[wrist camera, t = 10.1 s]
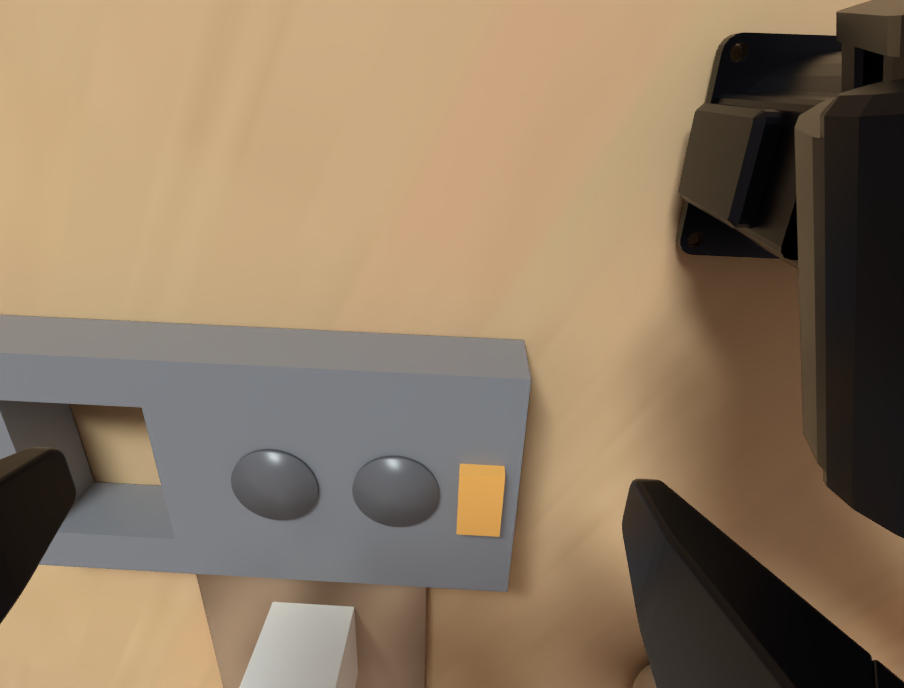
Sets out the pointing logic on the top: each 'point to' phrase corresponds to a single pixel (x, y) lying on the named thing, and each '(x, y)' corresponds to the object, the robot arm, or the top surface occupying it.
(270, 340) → the power strip
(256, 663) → the plug
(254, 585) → the pad
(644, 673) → the plastic bottle
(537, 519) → the top surface
